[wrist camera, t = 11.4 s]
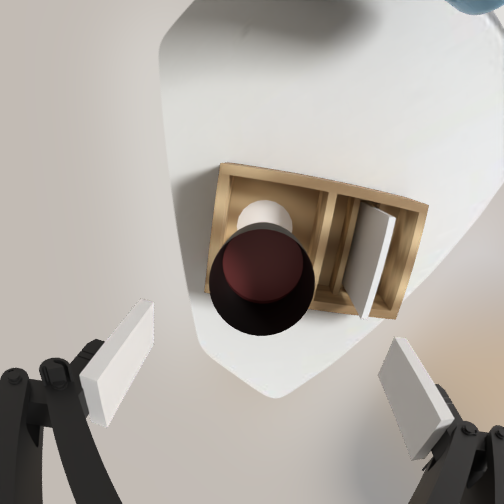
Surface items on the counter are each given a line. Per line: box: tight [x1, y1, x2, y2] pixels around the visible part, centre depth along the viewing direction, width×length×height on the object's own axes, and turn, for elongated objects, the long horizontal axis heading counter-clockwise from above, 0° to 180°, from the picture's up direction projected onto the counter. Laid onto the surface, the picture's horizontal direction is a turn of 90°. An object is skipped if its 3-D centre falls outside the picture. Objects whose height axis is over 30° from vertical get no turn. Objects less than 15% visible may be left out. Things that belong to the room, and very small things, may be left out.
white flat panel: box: [342, 202, 396, 320], centre depth 37 cm, size 12×1×11 cm, turn 171°
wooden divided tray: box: [204, 163, 429, 319], centre depth 40 cm, size 16×26×7 cm, turn 81°
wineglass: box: [209, 200, 315, 336], centre depth 33 cm, size 8×9×20 cm
